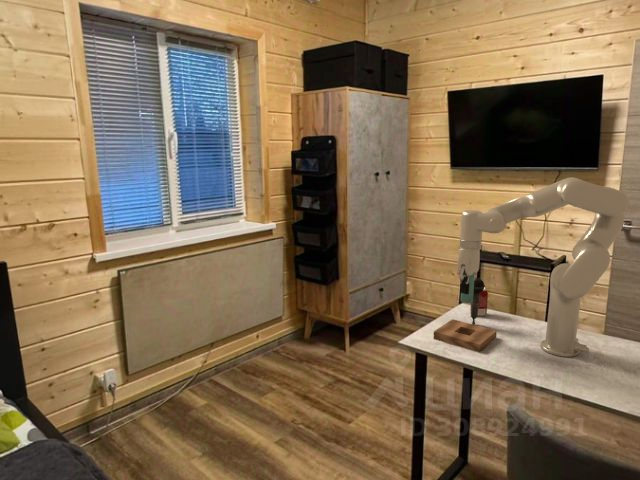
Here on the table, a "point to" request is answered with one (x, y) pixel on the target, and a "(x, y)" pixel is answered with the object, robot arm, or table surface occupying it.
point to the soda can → (482, 303)
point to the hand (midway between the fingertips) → (467, 291)
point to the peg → (469, 297)
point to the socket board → (465, 335)
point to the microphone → (476, 298)
